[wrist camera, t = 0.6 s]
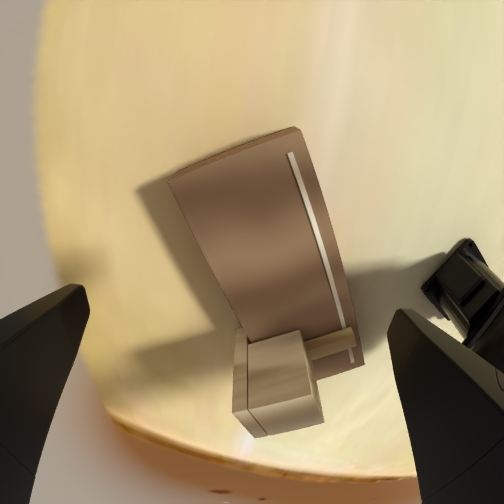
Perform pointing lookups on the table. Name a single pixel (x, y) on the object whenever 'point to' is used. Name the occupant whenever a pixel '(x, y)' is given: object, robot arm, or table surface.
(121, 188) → the table surface
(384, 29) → the table surface
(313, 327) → the walnut board
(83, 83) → the table surface
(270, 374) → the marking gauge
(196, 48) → the table surface
